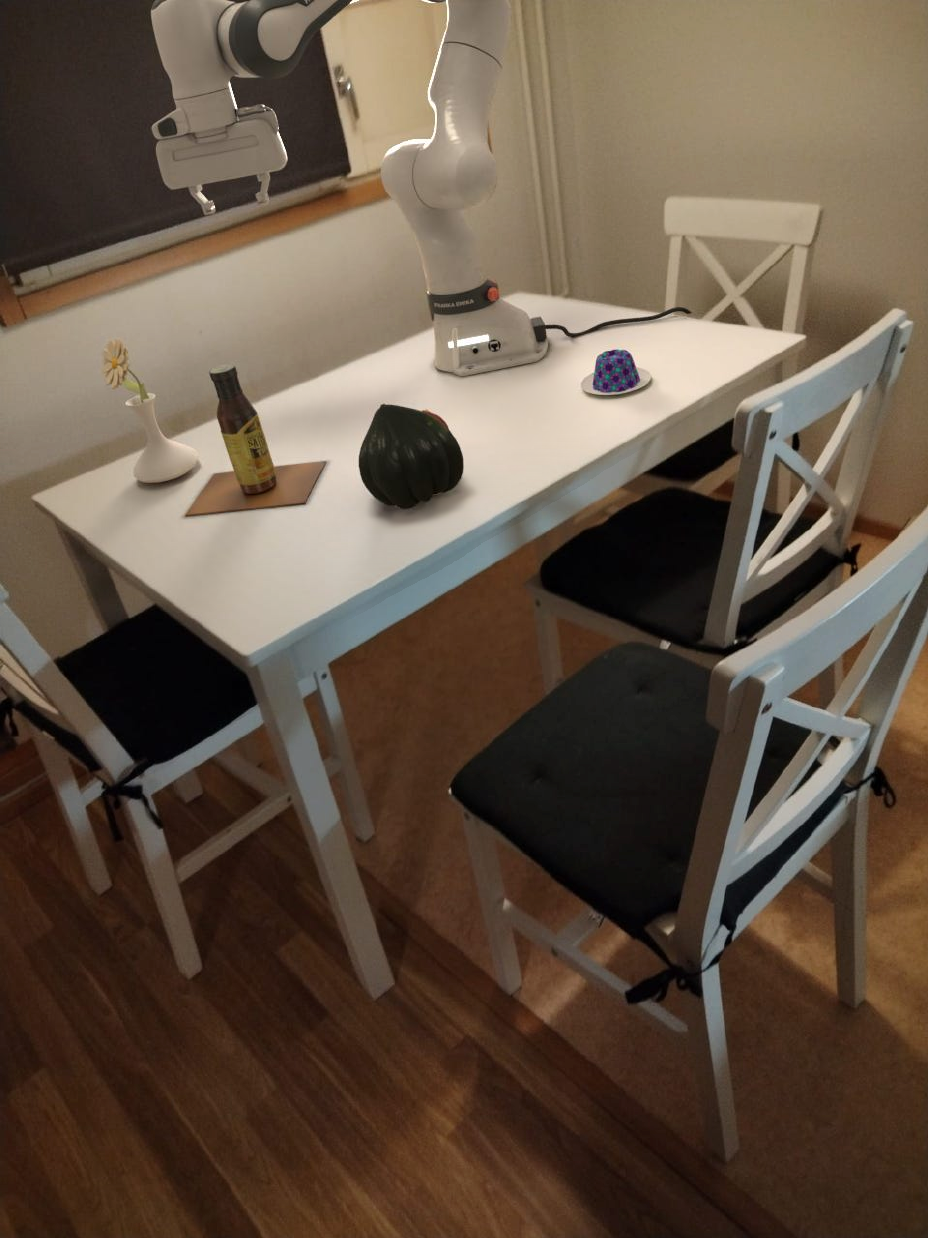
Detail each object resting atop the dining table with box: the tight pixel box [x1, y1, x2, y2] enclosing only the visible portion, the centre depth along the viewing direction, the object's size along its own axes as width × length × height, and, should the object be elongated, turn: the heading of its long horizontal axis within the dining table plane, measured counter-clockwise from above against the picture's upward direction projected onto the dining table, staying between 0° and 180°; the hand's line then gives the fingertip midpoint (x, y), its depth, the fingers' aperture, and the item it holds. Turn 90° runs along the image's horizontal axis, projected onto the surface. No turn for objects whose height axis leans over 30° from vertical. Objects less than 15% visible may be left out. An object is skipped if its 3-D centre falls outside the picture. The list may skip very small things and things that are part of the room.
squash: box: [358, 403, 465, 510], centre depth 136 cm, size 14×15×15 cm
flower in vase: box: [101, 336, 199, 484], centre depth 154 cm, size 13×11×25 cm
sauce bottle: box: [208, 363, 276, 494], centre depth 145 cm, size 7×6×20 cm
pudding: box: [580, 348, 652, 396], centre depth 158 cm, size 12×12×5 cm
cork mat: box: [184, 460, 327, 517], centre depth 151 cm, size 20×14×1 cm
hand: (237, 208), depth 151 cm, fingers open, 8 cm apart
